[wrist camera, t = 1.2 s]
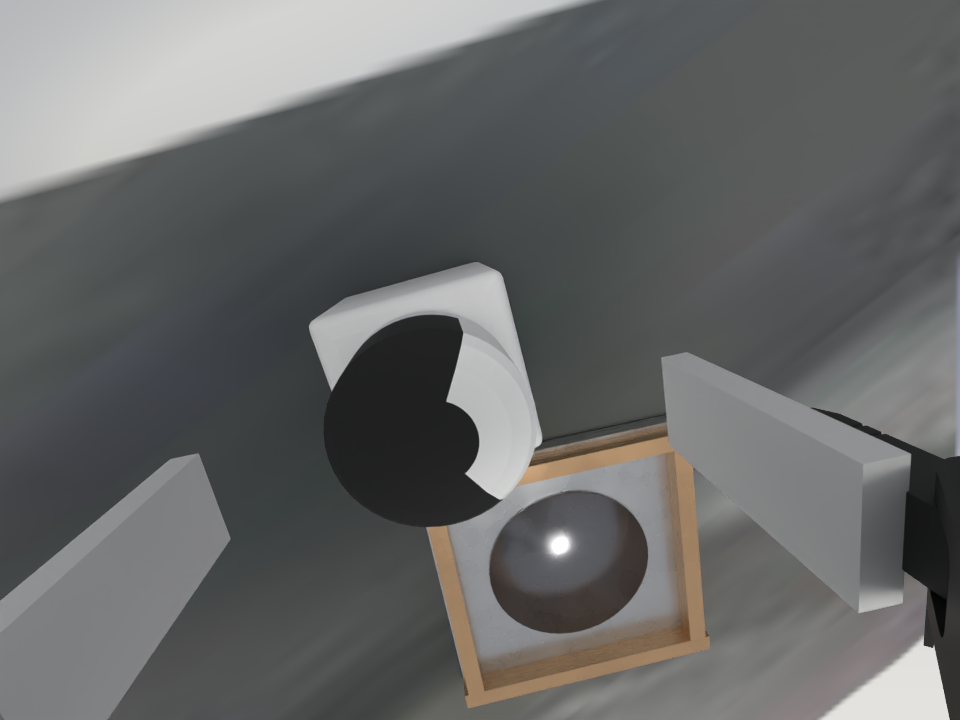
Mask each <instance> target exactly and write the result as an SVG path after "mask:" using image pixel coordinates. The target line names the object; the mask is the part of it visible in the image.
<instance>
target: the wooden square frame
mask: <svg viewBox="0 0 960 720" xmlns="http://www.w3.org/2000/svg"><path fill="white" fill-rule="evenodd" d="M426 529H427V533H428V537H429V541H430V545H431V549H432V553H433V557H434V561H435V565H436V569H437V573H438V577H439V581H440V585H441V589H442V593H443V597H444V601H445V606H446V610H447V614H448V618H449V622H450V626H451V630H452V634H453V638H454V642H455V646H456V650H457V654H458V658H459V662H460V666H461V670H462V674H463V678H464V690H465V698H466V702H467V706H468V708H472V707H476V706H480V705H484V704H488V703H492V702H496V701H500V700H504V699H508V698H512V697H516V696H520V695H524V694H528V693H532V692H537V691H541V690H545V689H549V688H553V687H557V686H561V685H565V684H569V683H573V682H577V681H581V680H585V679H589V678H593V677H597V676H601V675H605V674H609V673H614V672H618V671H622V670H626V669H630V668H634V667H638V666H642V665H646V664H650V663H654V662H658V661H662V660H666V659H670V658H674V657H678V656H682V655H686V654H691V653H695V652H699V651H703V650H707V649H710V639H709V635H708V634H707V632H706V631H705V623H704V609H703V596H702V583H701V570H700V556H699V543H698V530H697V517H696V504H695V490H694V477H693V466H692V465H691V464H690V463H689V462H688V461H686V460H685V459H684V458H683V457H682V456H681V455H680V454H679V453H677V452H676V451H675V450H674V449H673V448H672V447H671V446H669V439H668V428H667V416H666V415H662V416H657V417H653V418H648V419H644V420H639V421H634V422H630V423H625V424H621V425H616V426H611V427H607V428H602V429H598V430H593V431H589V432H584V433H579V434H575V435H570V436H566V437H561V438H557V439H552V440H547V441H543V442H542V443H541V444H540V445H539V446H538V447H536V448H534V453H533V456H532V458H531V461H530V463H529V466H528V468H527V470H526V471H525V473H524V475H523V477H522V479H521V480H520V481H519V482H518V484H517V485H516V486H515V488H514V489H513V490H512V491H511V492H510V493H509V494H508V495H507V496H506V497H505V498H504V499H503V500H502V501H501V502H499V503H498V504H497V505H495V506H494V507H493V508H491V509H490V510H488V511H486V512H484V513H483V514H481V515H479V516H477V517H474V518H472V519H470V520H467V521H464V522H460V523H457V524H453V525H447V526H441V527H426Z"/></svg>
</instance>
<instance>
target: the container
mask: <svg viewBox="0 0 960 720" xmlns="http://www.w3.org/2000/svg"><path fill="white" fill-rule="evenodd" d="M309 330H310V334H311V337H312V339H313V342H314V345H315V348H316V350H317V353H318V356H319V358H320V361H321V364H322V367H323V369H324V372H325V375H326V377H327V380H328V383H329V386H330V388H331V391H332V393H331V395H330V398H329V401H328V403H327V408H326V413H325V417H324V440H325V447H326V451H327V455H328V459H329V461H330V464H331V466H332V468H333V471H334V473H335V475H336V476H337V478H338V479H339V481H340V483H341V484H342V485H343V487H344V488H345V489H346V490H347V491H348V493H349V494H350V495H351V496H352V497H353V498H354V499H356V500H357V501H358V502H359V503H360V504H361V505H363V506H364V507H366V508H367V509H369V510H370V511H371V512H373V513H375V514H377V515H379V516H381V517H383V518H385V519H388V520H391V521H394V522H397V523H400V524H405V525H410V526H418V527H441V526H447V525H453V524H457V523H460V522H464V521H467V520H470V519H472V518H474V517H477V516H479V515H481V514H483V513H484V512H486V511H488V510H490V509H491V508H493V507H494V506H495V505H497V504H498V503H499V502H501V501H502V500H503V499H504V498H505V497H506V496H507V495H508V494H509V493H510V492H511V491H512V490H513V489H514V488H515V486H516V485H517V484H518V482H519V481H520V480H521V479H522V477H523V475H524V473H525V471H526V470H527V468H528V466H529V463H530V461H531V458H532V456H533V453H534V448H536V447H538V446H539V445H540V444H541V443H542V433H541V429H540V425H539V421H538V417H537V413H536V408H535V403H534V399H533V397H532V393H531V388H530V384H529V380H528V376H527V372H526V368H525V364H524V360H523V356H522V352H521V348H520V344H519V340H518V336H517V332H516V328H515V324H514V320H513V316H512V312H511V308H510V304H509V300H508V296H507V292H506V288H505V284H504V280H503V277H502V275H501V273H500V272H498V271H496V270H494V269H492V268H490V267H488V266H486V265H483V264H481V263H479V262H472V263H469V264H465V265H462V266H458V267H454V268H451V269H447V270H444V271H440V272H436V273H433V274H429V275H425V276H422V277H418V278H415V279H411V280H407V281H404V282H400V283H397V284H393V285H389V286H386V287H382V288H379V289H375V290H371V291H368V292H364V293H360V294H357V295H353V296H350V297H346V298H345V299H343V300H342V301H340V302H339V303H337V304H336V305H334V306H333V307H331V308H330V309H329V310H327V311H326V312H324V313H323V314H321V315H320V316H318V317H317V318H315V319H314V320H313V321H311V323H310V325H309Z"/></svg>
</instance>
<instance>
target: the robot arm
mask: <svg viewBox="0 0 960 720" xmlns="http://www.w3.org/2000/svg"><path fill="white" fill-rule="evenodd" d="M661 360H662V371H663V383H664V394H665V405H666V416H667V428H668V439H669V446H671V447H672V448H673V449H674V450H675V451H676V452H677V453H679V454H680V455H681V456H682V457H683V458H684V459H685V460H686V461H688V462H689V463H690V464H691V465H692V466H693V467H694V468H695V469H697V470H698V471H699V472H700V473H701V474H702V475H703V476H704V477H706V478H707V479H708V480H709V481H710V482H711V483H712V484H713V485H715V486H716V487H717V488H718V489H719V490H720V491H721V492H722V493H724V494H725V495H726V496H727V497H728V498H729V499H730V500H732V501H733V502H734V503H735V504H736V505H737V506H738V507H739V508H741V509H742V510H743V511H744V512H745V513H746V514H747V515H748V516H750V517H751V518H752V519H753V520H754V521H755V522H756V523H757V524H759V525H760V526H761V527H762V528H763V529H764V530H765V531H766V532H768V533H769V534H770V535H771V536H772V537H773V538H774V539H776V540H777V541H778V542H779V543H780V544H781V545H782V546H783V547H785V548H786V549H787V550H788V551H789V552H790V553H791V554H792V555H794V556H795V557H796V558H797V559H798V560H799V561H800V562H801V563H803V564H804V565H805V566H806V567H807V568H808V569H809V570H810V571H812V572H813V573H814V574H815V575H816V576H817V577H818V578H819V579H821V580H822V581H823V582H824V583H825V584H826V585H827V586H829V587H830V588H831V589H832V590H833V591H834V592H835V593H836V594H838V595H839V596H840V597H841V598H842V599H843V600H844V601H845V602H847V603H848V604H849V605H850V606H851V607H852V608H853V609H854V610H856V611H857V612H858V613H862V612H867V611H871V610H875V609H880V608H884V607H888V606H892V605H897V604H901V603H903V587H904V571H905V572H907V573H908V574H909V575H911V576H912V577H914V578H915V579H916V580H918V581H919V582H921V583H922V584H923V585H925V586H926V587H928V592H927V606H926V619H925V633H924V646H928V647H931V648H933V646H935V651H936V656H937V660H938V665H939V670H940V675H941V680H942V684H943V689H944V694H945V699H946V703H947V708H948V713H949V718H950V720H960V456H957V457H950V458H947V459H942V458H940V457H938V456H935V455H933V454H931V453H928V452H926V451H924V450H922V449H919V448H917V447H915V446H912V445H910V444H908V443H905V442H903V441H901V440H899V439H896V438H894V437H892V436H889V435H887V434H883V435H882V434H881V432H880V431H878V430H876V429H873V428H871V427H869V426H863V425H862V423H859V422H857V421H855V420H853V419H850V418H848V417H846V416H843V415H841V414H838V413H834V412H829V411H825V410H820V409H816V408H809V407H807V406H805V405H802V404H800V403H798V402H796V401H793V400H791V399H789V398H787V397H785V396H782V395H780V394H778V393H776V392H774V391H771V390H769V389H767V388H765V387H763V386H760V385H758V384H756V383H754V382H752V381H749V380H747V379H745V378H743V377H741V376H738V375H736V374H734V373H732V372H730V371H727V370H725V369H723V368H721V367H719V366H716V365H714V364H712V363H710V362H707V361H705V360H703V359H701V358H699V357H696V356H694V355H692V354H690V353H688V352H686V353H681V354H677V355H672V356H667V357H662V358H661ZM229 541H230V536H229V533H228V531H227V528H226V525H225V523H224V520H223V517H222V515H221V512H220V509H219V507H218V504H217V501H216V498H215V496H214V493H213V490H212V488H211V485H210V482H209V480H208V477H207V474H206V472H205V469H204V466H203V464H202V461H201V458H200V456H199V453H198V454H193V455H188V456H183V457H178V458H173V459H170V460H169V461H168V462H166V463H165V464H164V465H163V466H162V467H160V468H159V469H158V470H157V471H156V472H154V473H153V474H152V475H151V476H150V477H148V478H147V479H146V480H145V481H144V482H142V483H141V484H140V485H139V486H138V487H136V488H135V489H134V490H133V491H132V492H130V493H129V494H128V495H127V496H126V497H124V498H123V499H122V500H121V501H120V502H118V503H117V504H116V505H115V506H113V507H112V508H111V509H110V510H109V511H107V512H106V513H105V514H104V515H103V516H101V517H100V518H99V519H98V520H97V521H95V522H94V523H93V524H92V525H91V526H89V527H88V528H87V529H86V530H85V531H83V532H82V533H81V534H80V535H79V536H77V537H76V538H75V539H74V540H73V541H71V542H70V543H69V544H68V545H67V546H65V547H64V548H63V549H62V550H61V551H59V552H58V553H57V554H56V555H55V556H53V557H52V558H51V559H50V560H49V561H47V562H46V563H45V564H44V565H43V566H41V567H40V568H39V569H38V570H37V571H35V572H34V573H33V574H32V575H31V576H29V577H28V578H27V579H26V580H25V581H23V582H22V583H21V584H20V585H19V586H17V587H16V588H15V589H14V590H13V591H11V592H10V593H9V594H8V595H7V596H5V597H4V598H3V599H2V600H1V601H0V720H108V718H109V717H110V715H111V714H112V712H113V711H114V709H115V708H116V707H117V705H118V704H119V702H120V701H121V699H122V698H123V696H124V695H125V693H126V692H127V690H128V689H129V687H130V686H131V685H132V683H133V682H134V680H135V679H136V677H137V676H138V674H139V673H140V671H141V670H142V668H143V667H144V665H145V664H146V663H147V661H148V660H149V658H150V657H151V655H152V654H153V652H154V651H155V649H156V648H157V646H158V645H159V643H160V642H161V641H162V639H163V638H164V636H165V635H166V633H167V632H168V630H169V629H170V627H171V626H172V624H173V623H174V621H175V620H176V619H177V617H178V616H179V614H180V613H181V611H182V610H183V608H184V607H185V605H186V604H187V602H188V601H189V599H190V598H191V597H192V595H193V594H194V592H195V591H196V589H197V588H198V586H199V585H200V583H201V582H202V580H203V579H204V577H205V576H206V575H207V573H208V572H209V570H210V569H211V567H212V566H213V564H214V563H215V561H216V560H217V558H218V557H219V555H220V554H221V553H222V551H223V550H224V548H225V547H226V545H227V544H228V542H229Z"/></svg>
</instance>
